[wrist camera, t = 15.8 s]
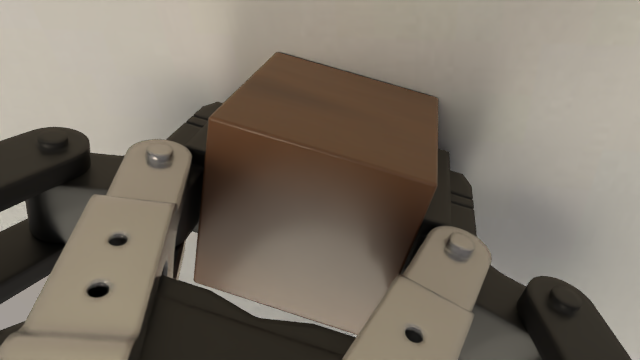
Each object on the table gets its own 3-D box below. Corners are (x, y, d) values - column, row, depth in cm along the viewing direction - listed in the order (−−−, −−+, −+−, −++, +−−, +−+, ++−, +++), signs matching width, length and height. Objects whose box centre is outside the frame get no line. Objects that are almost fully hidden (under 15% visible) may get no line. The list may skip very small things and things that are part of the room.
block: (390, 228, 15) (372, 341, 11) (253, 186, 15) (192, 282, 11) (439, 97, 12) (438, 185, 9) (276, 50, 13) (207, 116, 9)
